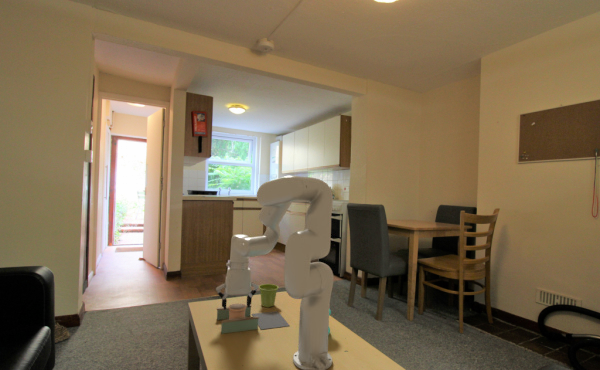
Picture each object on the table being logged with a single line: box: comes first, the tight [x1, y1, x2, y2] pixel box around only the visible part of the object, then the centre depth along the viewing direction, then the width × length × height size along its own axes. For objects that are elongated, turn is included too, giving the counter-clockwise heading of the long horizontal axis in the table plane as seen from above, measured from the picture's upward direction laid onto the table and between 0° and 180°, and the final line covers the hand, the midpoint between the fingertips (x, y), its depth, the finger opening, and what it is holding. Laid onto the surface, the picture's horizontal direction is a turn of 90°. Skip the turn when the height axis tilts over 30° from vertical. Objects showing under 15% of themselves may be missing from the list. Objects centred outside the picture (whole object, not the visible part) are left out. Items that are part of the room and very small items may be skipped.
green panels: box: [216, 304, 259, 334], centre depth 126 cm, size 14×14×5 cm
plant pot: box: [258, 283, 279, 308], centre depth 149 cm, size 9×9×9 cm
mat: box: [251, 310, 290, 331], centre depth 131 cm, size 16×12×1 cm
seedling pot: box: [227, 302, 247, 319], centre depth 126 cm, size 7×7×7 cm
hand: (236, 307), depth 127 cm, fingers open, 9 cm apart
